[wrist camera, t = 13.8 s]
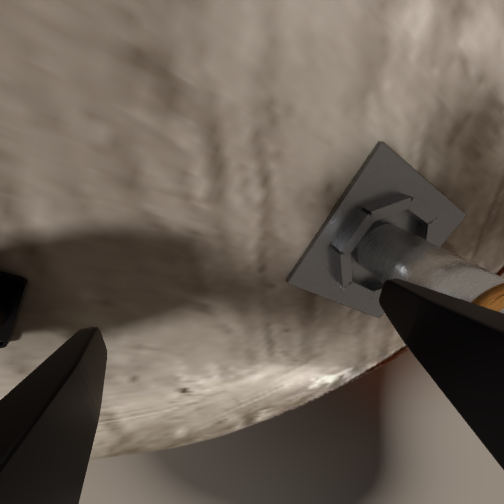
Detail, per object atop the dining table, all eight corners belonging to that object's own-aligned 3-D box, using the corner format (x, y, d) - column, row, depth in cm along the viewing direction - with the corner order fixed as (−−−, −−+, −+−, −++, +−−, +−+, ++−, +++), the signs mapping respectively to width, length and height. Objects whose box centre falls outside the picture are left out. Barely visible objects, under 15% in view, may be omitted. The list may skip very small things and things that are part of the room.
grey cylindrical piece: (367, 279, 27) (488, 381, 17) (348, 247, 24) (479, 344, 14) (409, 248, 26) (560, 333, 16) (394, 211, 24) (564, 285, 13)
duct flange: (376, 315, 31) (386, 325, 29) (285, 280, 25) (292, 290, 23) (462, 213, 27) (478, 219, 25) (378, 141, 21) (393, 143, 19)
